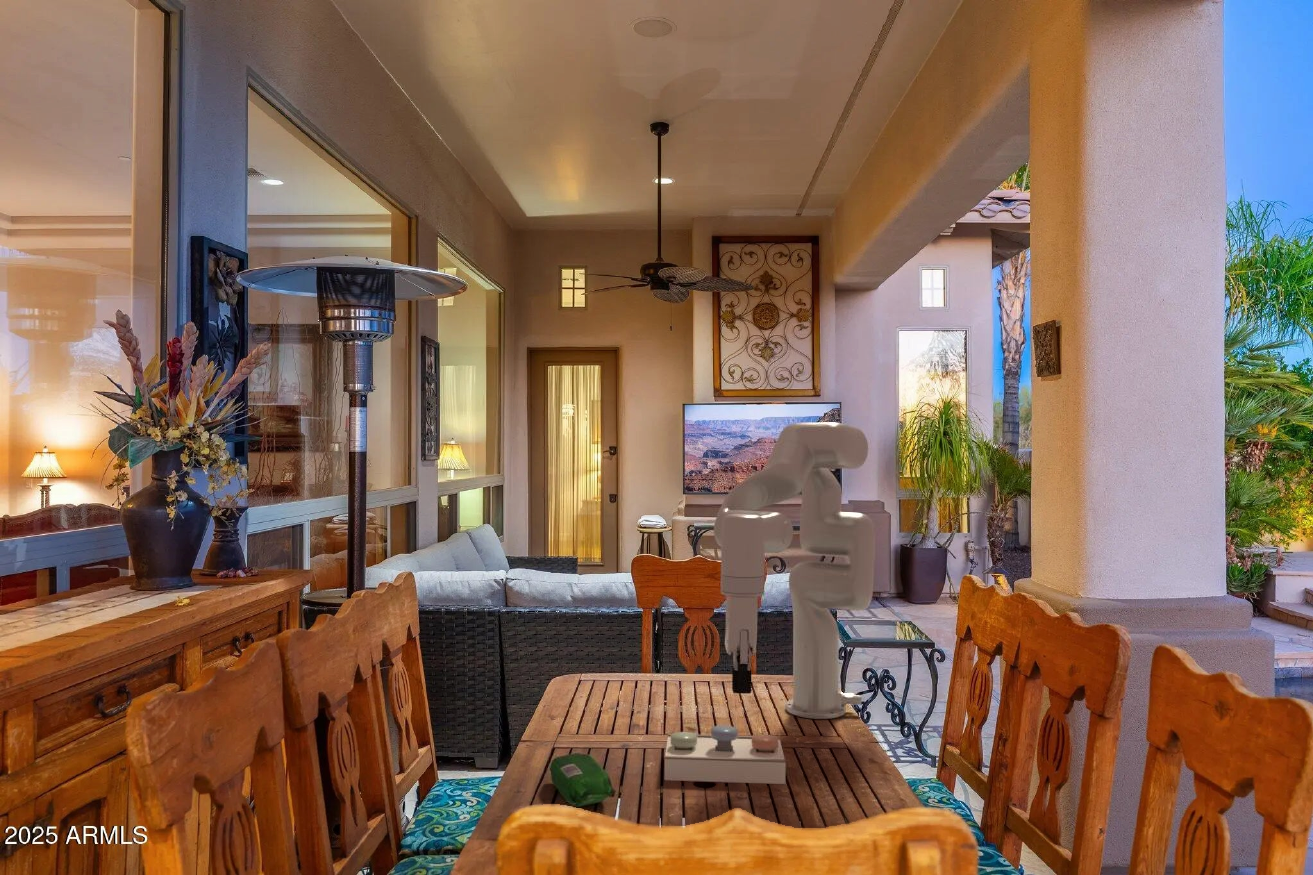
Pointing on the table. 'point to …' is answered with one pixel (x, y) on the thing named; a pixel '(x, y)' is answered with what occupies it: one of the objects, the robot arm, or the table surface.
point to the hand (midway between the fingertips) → (741, 691)
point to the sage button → (683, 740)
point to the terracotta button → (764, 743)
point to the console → (725, 762)
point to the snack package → (580, 779)
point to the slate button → (724, 736)
